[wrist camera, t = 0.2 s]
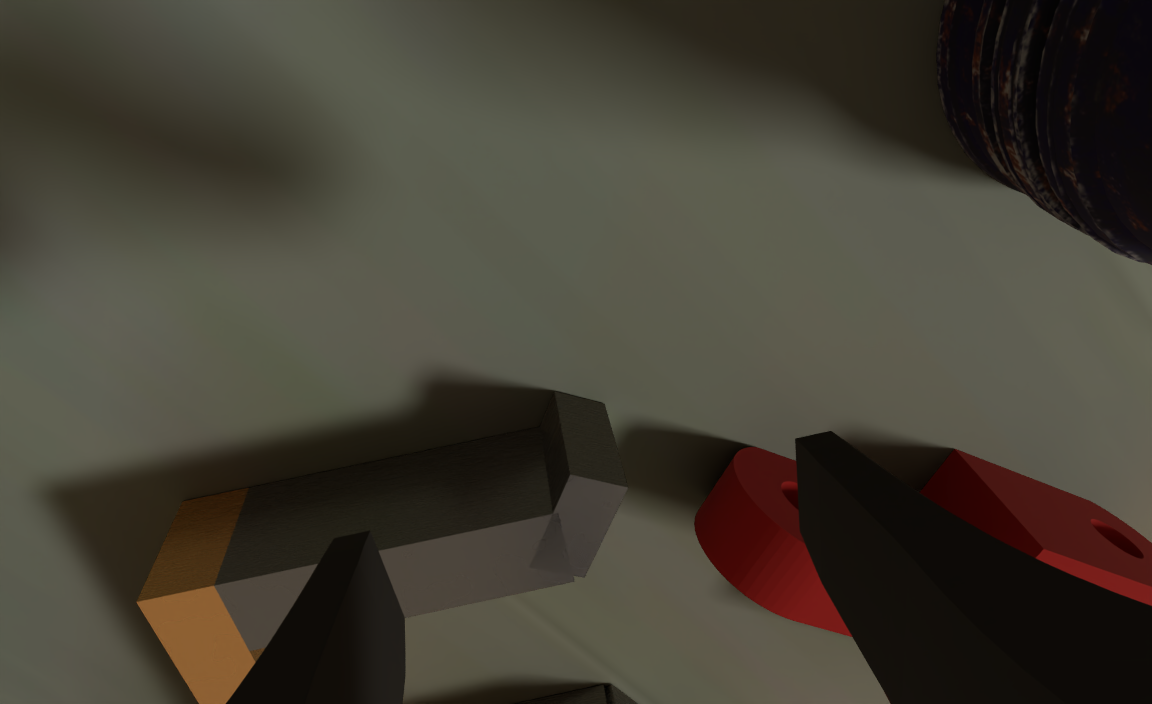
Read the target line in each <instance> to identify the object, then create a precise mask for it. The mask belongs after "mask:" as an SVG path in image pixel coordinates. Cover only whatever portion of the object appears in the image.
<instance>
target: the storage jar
mask: <svg viewBox="0 0 1152 704" xmlns="http://www.w3.org/2000/svg"><path fill="white" fill-rule="evenodd" d="M936 55H937V77H938V87H939V92H940V97H941V101H942V106H943V111H944V113H945V116H946V118H947V121H948V123H949V126H950V128H951V131H952V133H953V135H954V137H955V138H956V140H957V141H958V143H959V144H960V146H961V147H962V149H963V150H964V152H965V153H966V155H967V156H968V157H969V158H970V159H971V160H972V161H973V162H974V163H975V164H976V165H977V166H978V167H979V168H980V169H981V170H982V171H984V172H985V173H987V174H988V175H990V176H991V177H993V178H994V179H996V180H998V181H999V182H1001V183H1002V184H1004V185H1006V186H1008V187H1010V188H1012V189H1014V190H1016V191H1019V192H1022V193H1024V194H1026V195H1027V196H1029V197H1030V198H1031V199H1032V200H1033V201H1034V202H1035V203H1036V204H1037V205H1038V206H1039V207H1040V208H1042V209H1043V210H1045V211H1046V212H1048V213H1049V214H1051V215H1052V216H1054V217H1056V218H1057V219H1059V220H1060V221H1062V222H1065V223H1066V224H1068V225H1070V226H1071V227H1073V228H1075V229H1077V230H1079V231H1081V232H1082V233H1084V234H1086V235H1089V236H1091V237H1092V238H1093V239H1094V240H1096V241H1097V242H1099V243H1100V244H1102V245H1103V246H1105V247H1106V248H1108V249H1110V250H1111V251H1113V252H1114V253H1117V254H1119V255H1122V256H1125V257H1127V258H1130V259H1133V260H1135V261H1138V262H1143V263H1148V264H1151V265H1152V0H945V3H944V7H943V11H942V15H941V19H940V25H939V34H938V44H937V54H936Z"/></svg>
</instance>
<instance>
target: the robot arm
mask: <svg viewBox="0 0 1152 704" xmlns="http://www.w3.org/2000/svg"><path fill="white" fill-rule="evenodd" d="M795 443H796V465H797V486H798V508H799V529H800V533H801V535H802V538H803V540H804V542H805V545H806V547H807V550H808V552H809V555H810V557H811V560H812V562H813V564H814V566H815V569H816V571H817V573H818V576H819V578H820V580H821V583H822V584H823V586H824V588H825V590H826V592H827V593H828V595H829V597H830V599H831V600H832V602H833V604H834V606H835V607H836V609H837V611H838V613H839V614H840V616H841V618H842V620H843V621H844V623H845V625H846V627H847V628H848V630H849V632H850V633H851V635H852V637H853V639H854V640H855V642H856V644H857V645H858V647H859V649H860V651H861V652H862V654H863V656H864V658H865V659H866V661H867V663H868V664H869V666H870V668H871V670H872V671H873V673H874V675H875V676H876V678H877V680H878V682H879V683H880V685H881V687H882V688H883V690H884V692H885V694H886V695H887V697H888V699H889V701H890V703H891V704H1152V606H1151V605H1148V604H1145V603H1142V602H1140V601H1137V600H1134V599H1131V598H1129V597H1126V596H1123V595H1121V594H1118V593H1115V592H1113V591H1110V590H1108V589H1105V588H1103V587H1101V586H1098V585H1096V584H1093V583H1091V582H1088V581H1086V580H1083V579H1081V578H1079V577H1076V576H1074V575H1071V574H1069V573H1067V572H1064V571H1062V570H1060V569H1058V568H1055V567H1053V566H1051V565H1049V564H1047V563H1044V562H1042V561H1040V560H1038V559H1036V558H1034V557H1032V556H1030V555H1028V554H1026V553H1024V552H1022V551H1020V550H1018V549H1016V548H1014V547H1012V546H1010V545H1008V544H1006V543H1004V542H1002V541H1000V540H998V539H996V538H994V537H993V536H991V535H989V534H987V533H985V532H983V531H982V530H980V529H978V528H976V527H975V526H973V525H971V524H970V523H968V522H966V521H964V520H963V519H961V518H959V517H957V516H956V515H954V514H952V513H951V512H949V511H947V510H946V509H944V508H942V507H941V506H939V505H938V504H936V503H935V502H933V501H932V500H930V499H928V498H927V497H925V496H924V495H922V494H921V493H919V492H918V491H916V490H915V489H913V488H912V487H910V486H909V485H907V484H906V483H904V482H903V481H901V480H900V479H898V478H897V477H895V476H894V475H892V474H891V473H890V472H888V471H887V470H885V469H884V468H883V467H881V466H880V465H878V464H877V463H875V462H874V461H873V460H871V459H870V458H868V457H867V456H866V455H864V454H863V453H861V452H860V451H859V450H857V449H856V448H854V447H853V446H852V445H850V444H849V443H847V442H846V441H845V440H843V439H842V438H840V437H839V436H837V435H836V434H835V433H833V432H832V431H828V432H824V433H819V434H814V435H810V436H805V437H801V438H796V439H795ZM404 684H405V617H404V614H403V612H402V609H401V607H400V604H399V602H398V599H397V596H396V594H395V591H394V589H393V586H392V584H391V581H390V579H389V576H388V574H387V571H386V569H385V566H384V564H383V561H382V559H381V556H380V554H379V551H378V548H377V546H376V543H375V541H374V538H373V536H372V533H371V531H365V532H361V533H356V534H351V535H347V536H342V537H338V538H334V539H333V541H332V542H331V544H330V545H329V547H328V548H327V550H326V551H325V553H324V555H323V556H322V558H321V560H320V561H319V563H318V565H317V566H316V568H315V570H314V571H313V573H312V575H311V576H310V578H309V580H308V581H307V583H306V585H305V586H304V588H303V590H302V591H301V593H300V595H299V596H298V598H297V599H296V601H295V603H294V604H293V606H292V608H291V609H290V611H289V612H288V614H287V615H286V617H285V619H284V620H283V622H282V623H281V625H280V626H279V628H278V629H277V631H276V633H275V634H274V636H273V637H272V639H271V640H270V642H269V643H268V645H267V646H266V648H265V649H264V651H263V652H262V654H261V655H260V657H259V658H258V659H257V661H256V662H255V664H254V665H253V666H252V668H251V669H250V671H249V672H248V674H247V675H246V676H245V678H244V679H243V681H242V682H241V683H240V685H239V686H238V688H237V689H236V691H235V692H234V693H233V695H232V696H231V697H230V699H229V700H228V701H227V702H226V704H402V703H403V694H404Z"/></svg>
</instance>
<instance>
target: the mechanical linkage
mask: <svg viewBox="0 0 1152 704" xmlns="http://www.w3.org/2000/svg"><path fill="white" fill-rule="evenodd" d="M919 493H921V494H922V495H924V496H925V497H927V498H928V499H930V500H932V501H933V502H935V503H936V504H938V505H939V506H941V507H942V508H944V509H946V510H947V511H949V512H951V513H952V514H954V515H956V516H957V517H959V518H961V519H963V520H964V521H966V522H968V523H970V524H971V525H973V526H975V527H976V528H978V529H980V530H982V531H983V532H985V533H987V534H989V535H991V536H993V537H994V538H996V539H998V540H1000V541H1002V542H1004V543H1006V544H1008V545H1010V546H1012V547H1014V548H1016V549H1018V550H1020V551H1022V552H1024V553H1026V554H1028V555H1030V556H1032V557H1034V558H1036V559H1038V560H1040V561H1042V562H1044V563H1047V564H1049V565H1051V566H1053V567H1055V568H1058V569H1060V570H1062V571H1064V572H1067V573H1069V574H1071V575H1074V576H1076V577H1079V578H1081V579H1083V580H1086V581H1088V582H1091V583H1093V584H1096V585H1098V586H1101V587H1103V588H1105V589H1108V590H1110V591H1113V592H1115V593H1118V594H1121V595H1123V596H1126V597H1129V598H1131V599H1134V600H1137V601H1140V602H1142V603H1145V604H1148V605H1151V606H1152V543H1151V542H1150V541H1148V540H1147V539H1146V538H1145V537H1143V536H1142V535H1141V534H1140V533H1138V532H1137V531H1136V530H1134V529H1133V528H1131V527H1130V526H1129V525H1127V524H1126V523H1124V522H1123V521H1122V520H1120V519H1119V518H1117V517H1116V516H1114V515H1113V514H1111V513H1110V512H1108V511H1106V510H1105V509H1103V508H1101V507H1100V506H1098V505H1096V504H1095V503H1093V502H1091V501H1089V500H1086V499H1083V498H1081V497H1078V496H1076V495H1073V494H1071V493H1068V492H1065V491H1063V490H1060V489H1058V488H1055V487H1052V486H1050V485H1047V484H1045V483H1042V482H1039V481H1037V480H1034V479H1032V478H1029V477H1027V476H1024V475H1021V474H1019V473H1016V472H1014V471H1011V470H1008V469H1006V468H1003V467H1001V466H998V465H996V464H993V463H990V462H988V461H985V460H983V459H980V458H977V457H975V456H972V455H970V454H967V453H964V452H962V451H959V450H957V449H954V450H953V451H952V453H951V454H950V455H949V456H948V458H947V459H946V460H945V461H944V463H943V464H942V465H941V466H940V468H939V469H938V470H937V471H936V473H935V474H934V475H933V476H932V478H931V479H930V480H929V481H928V482H927V484H926V485H925V486H924V487H923V489H922V490H921V491H920V492H919ZM694 525H695V532H696V535H697V538H698V541H699V543H700V545H701V547H702V549H703V551H704V552H705V554H706V555H707V557H708V558H709V560H710V561H711V562H712V564H713V565H714V566H715V567H716V569H717V570H718V571H719V572H720V573H721V574H722V575H723V576H724V577H725V578H726V579H727V580H728V581H729V582H730V583H731V584H732V585H733V586H734V587H735V588H737V589H738V590H739V591H740V592H742V593H743V594H744V595H745V596H747V597H748V598H750V599H751V600H752V601H754V602H756V603H757V604H759V605H760V606H762V607H764V608H766V609H767V610H769V611H771V612H773V613H775V614H777V615H780V616H782V617H785V618H787V619H790V620H793V621H797V622H800V623H804V624H808V625H811V626H815V627H818V628H822V629H826V630H829V631H833V632H836V633H840V634H844V635H847V636H851V637H852V635H851V633H850V632H849V630H848V628H847V627H846V625H845V623H844V621H843V620H842V618H841V616H840V614H839V613H838V611H837V609H836V607H835V606H834V604H833V602H832V600H831V599H830V597H829V595H828V593H827V592H826V590H825V588H824V586H823V584H822V583H821V580H820V578H819V576H818V573H817V571H816V569H815V566H814V564H813V562H812V560H811V557H810V555H809V552H808V550H807V547H806V545H805V542H804V540H803V538H802V535H801V533H800V529H799V508H798V486H797V465H796V461H795V460H792V459H789V458H786V457H783V456H780V455H778V454H775V453H772V452H769V451H766V450H763V449H761V448H758V447H748V448H744V449H741V450H740V451H738V452H737V453H736V455H735V456H734V458H733V459H732V461H731V462H730V464H729V465H728V467H727V468H726V470H725V471H724V473H723V474H722V476H721V477H720V479H719V480H718V482H717V483H716V485H715V486H714V488H713V489H712V491H711V492H710V494H709V495H708V497H707V498H706V500H705V501H704V503H703V504H702V506H701V507H700V509H699V510H698V512H697V514H696V516H695V523H694ZM886 696H887V695H886ZM887 698H888V697H887ZM888 700H889V699H888ZM889 702H890V701H889Z"/></svg>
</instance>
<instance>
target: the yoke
mask: <svg viewBox="0 0 1152 704" xmlns="http://www.w3.org/2000/svg"><path fill="white" fill-rule="evenodd" d="M627 489H628V485H627V481H626V478H625V474H624V471H623V467H622V464H621V460H620V457H619V453H618V449H617V446H616V442H615V439H614V435H613V432H612V428H611V425H610V421H609V418H608V414H607V411H606V407H605V404H603V403H599V402H595V401H591V400H588V399H584V398H580V397H576V396H572V395H568V394H564V393H560V392H556V391H554V394H553V396H552V399H551V401H550V403H549V406H548V408H547V411H546V413H545V416H544V418H543V420H542V423H541V425H540V427H537V428H532V429H527V430H522V431H518V432H513V433H508V434H503V435H498V436H494V437H489V438H484V439H479V440H474V441H470V442H465V443H460V444H455V445H451V446H446V447H441V448H436V449H431V450H427V451H422V452H417V453H412V454H408V455H403V456H398V457H393V458H388V459H384V460H379V461H374V462H369V463H364V464H360V465H355V466H350V467H345V468H341V469H336V470H331V471H326V472H321V473H317V474H312V475H307V476H302V477H297V478H293V479H288V480H283V481H278V482H274V483H269V484H264V485H259V486H254V487H250V488H245V489H240V490H235V491H230V492H226V493H221V494H216V495H211V496H207V497H202V498H197V499H192V500H187V501H183V502H182V504H181V506H180V508H179V510H178V512H177V515H176V517H175V519H174V521H173V523H172V525H171V528H170V530H169V532H168V534H167V536H166V539H165V541H164V543H163V545H162V547H161V550H160V552H159V554H158V556H157V558H156V560H155V563H154V565H153V567H152V569H151V571H150V574H149V576H148V578H147V580H146V582H145V584H144V587H143V589H142V591H141V593H140V595H139V598H138V600H137V604H138V606H139V607H140V609H141V610H142V612H143V614H144V615H145V617H146V619H147V620H148V622H149V623H150V625H151V627H152V628H153V630H154V632H155V633H156V635H157V636H158V638H159V640H160V641H161V643H162V644H163V646H164V648H165V649H166V651H167V653H168V654H169V656H170V657H171V659H172V661H173V662H174V664H175V666H176V667H177V669H178V670H179V672H180V674H181V675H182V677H183V679H184V680H185V682H186V683H187V685H188V687H189V688H190V690H191V692H192V693H193V695H194V696H195V698H196V700H197V701H198V703H199V704H226V702H227V701H228V700H229V699H230V697H231V696H232V695H233V693H234V692H235V691H236V689H237V688H238V686H239V685H240V683H241V682H242V681H243V679H244V678H245V676H246V675H247V674H248V672H249V671H250V669H251V668H252V666H253V665H254V664H255V662H256V661H257V659H258V658H259V657H260V655H261V654H262V652H263V651H264V649H265V648H266V646H267V645H268V643H269V642H270V640H271V639H272V637H273V636H274V634H275V633H276V631H277V629H278V628H279V626H280V625H281V623H282V622H283V620H284V619H285V617H286V615H287V614H288V612H289V611H290V609H291V608H292V606H293V604H294V603H295V601H296V599H297V598H298V596H299V595H300V593H301V591H302V590H303V588H304V586H305V585H306V583H307V581H308V580H309V578H310V576H311V575H312V573H313V571H314V570H315V568H316V566H317V565H318V563H319V561H320V560H321V558H322V556H323V555H324V553H325V551H326V550H327V548H328V547H329V545H330V544H331V542H332V541H333V539H334V538H338V537H342V536H347V535H351V534H356V533H361V532H365V531H371V533H372V536H373V538H374V541H375V543H376V546H377V548H378V551H379V554H380V556H381V559H382V561H383V564H384V566H385V569H386V571H387V574H388V576H389V579H390V581H391V584H392V586H393V589H394V591H395V594H396V596H397V599H398V602H399V604H400V607H401V609H402V612H403V614H404V617H405V618H407V617H411V616H416V615H421V614H425V613H430V612H435V611H439V610H444V609H449V608H453V607H458V606H463V605H467V604H472V603H477V602H481V601H486V600H491V599H495V598H500V597H505V596H509V595H514V594H519V593H523V592H528V591H533V590H537V589H542V588H547V587H551V586H556V585H561V584H565V583H570V582H574V576H578V577H584V578H585V576H586V573H587V571H588V569H589V567H590V565H591V563H592V561H593V559H594V557H595V555H596V553H597V551H598V549H599V547H600V545H601V543H602V541H603V539H604V537H605V534H606V532H607V530H608V528H609V526H610V524H611V522H612V520H613V518H614V516H615V514H616V512H617V510H618V508H619V506H620V504H621V502H622V500H623V498H624V495H625V493H626V491H627ZM517 704H637V703H636V702H635V701H633V700H632V699H631V698H629V697H628V696H627V695H625V694H624V693H623V692H621V691H620V690H618V689H617V688H616V687H614V686H613V685H612V684H611V685H609V686H608V687H606V688H605V689H604V685H599V686H595V687H590V688H586V689H581V690H576V691H572V692H567V693H563V694H558V695H553V696H549V697H544V698H540V699H535V700H530V701H526V702H521V703H517Z"/></svg>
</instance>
